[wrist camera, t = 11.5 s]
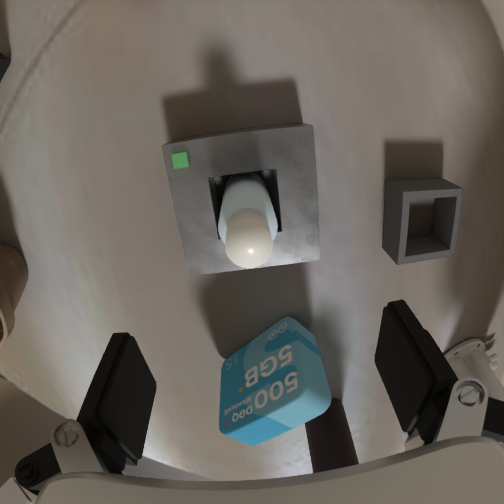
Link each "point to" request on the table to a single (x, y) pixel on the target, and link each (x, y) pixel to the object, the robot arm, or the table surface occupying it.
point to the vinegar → (330, 440)
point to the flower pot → (10, 287)
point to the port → (240, 161)
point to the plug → (247, 220)
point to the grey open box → (443, 222)
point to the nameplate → (3, 65)
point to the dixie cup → (413, 443)
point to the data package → (273, 384)
